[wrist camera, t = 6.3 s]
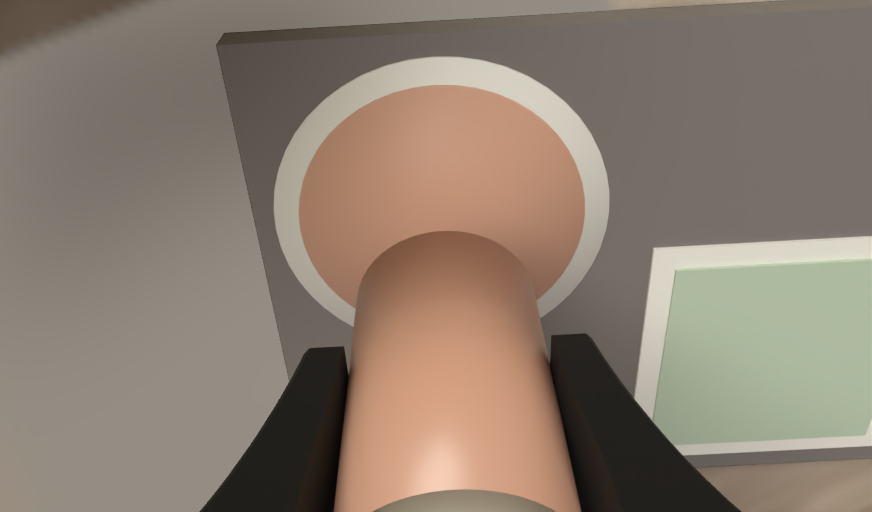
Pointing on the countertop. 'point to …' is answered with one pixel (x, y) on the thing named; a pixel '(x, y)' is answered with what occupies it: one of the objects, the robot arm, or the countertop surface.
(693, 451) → the grey rectangular board
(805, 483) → the countertop surface
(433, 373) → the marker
